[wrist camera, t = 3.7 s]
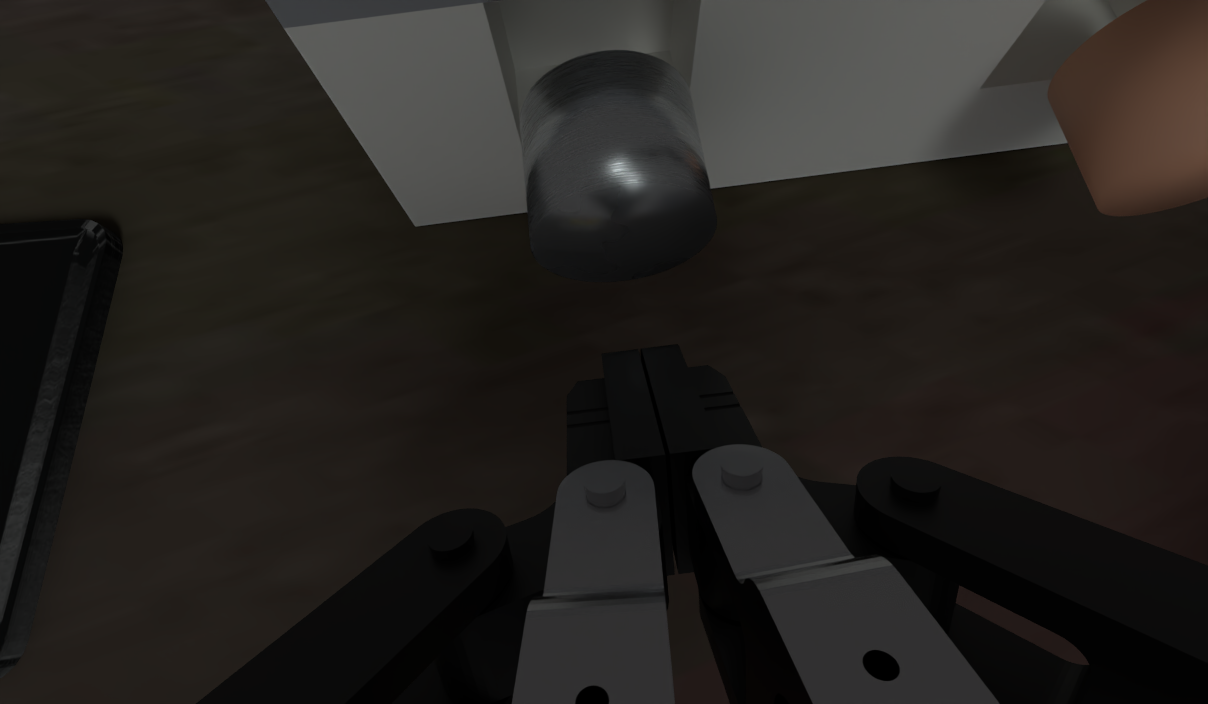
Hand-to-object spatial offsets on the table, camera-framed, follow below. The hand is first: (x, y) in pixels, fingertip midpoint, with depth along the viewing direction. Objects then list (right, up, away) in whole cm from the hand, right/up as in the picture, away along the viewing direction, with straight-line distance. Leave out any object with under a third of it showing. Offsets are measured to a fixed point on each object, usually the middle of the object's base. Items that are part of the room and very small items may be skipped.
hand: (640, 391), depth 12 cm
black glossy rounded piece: (0, +4, +5) cm, 7 cm away
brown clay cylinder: (+14, +6, +5) cm, 16 cm away
